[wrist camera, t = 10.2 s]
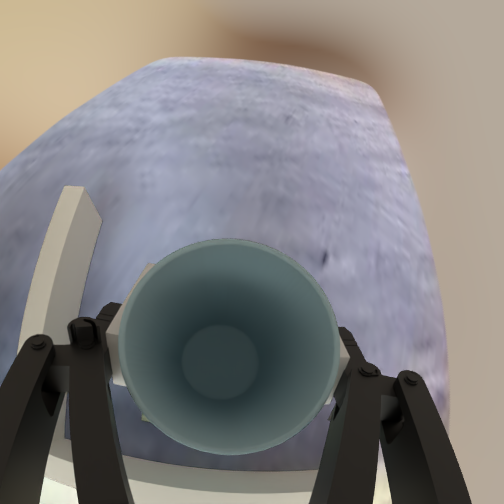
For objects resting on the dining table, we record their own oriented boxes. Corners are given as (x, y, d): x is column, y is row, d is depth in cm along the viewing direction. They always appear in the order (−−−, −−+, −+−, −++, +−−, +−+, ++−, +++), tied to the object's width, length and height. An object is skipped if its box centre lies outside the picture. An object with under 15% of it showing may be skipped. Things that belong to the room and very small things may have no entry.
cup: (138, 374, 18) (76, 362, 9) (204, 285, 21) (205, 202, 12) (235, 439, 17) (265, 491, 8) (296, 346, 20) (371, 310, 11)
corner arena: (43, 450, 15) (10, 461, 11) (83, 218, 24) (63, 185, 19) (340, 486, 18) (371, 505, 13) (347, 251, 26) (373, 223, 21)
